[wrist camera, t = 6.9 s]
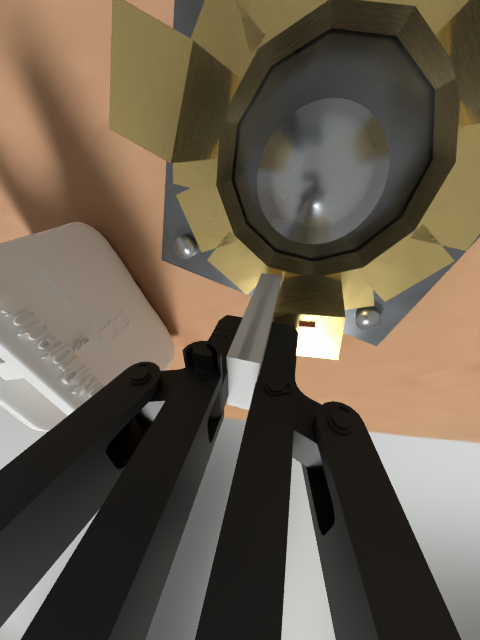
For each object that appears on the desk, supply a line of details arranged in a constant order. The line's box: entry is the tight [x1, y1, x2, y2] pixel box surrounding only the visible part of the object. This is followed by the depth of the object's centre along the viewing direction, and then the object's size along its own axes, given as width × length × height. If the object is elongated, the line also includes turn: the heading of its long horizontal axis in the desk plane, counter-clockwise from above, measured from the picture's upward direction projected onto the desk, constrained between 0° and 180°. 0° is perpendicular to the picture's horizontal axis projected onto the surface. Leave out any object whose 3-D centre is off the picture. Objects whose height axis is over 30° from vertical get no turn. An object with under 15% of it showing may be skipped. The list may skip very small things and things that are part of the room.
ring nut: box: [109, 0, 480, 360], centre depth 10 cm, size 14×14×7 cm
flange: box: [162, 0, 480, 346], centre depth 11 cm, size 18×18×7 cm
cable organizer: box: [0, 222, 175, 431], centre depth 21 cm, size 15×11×12 cm
